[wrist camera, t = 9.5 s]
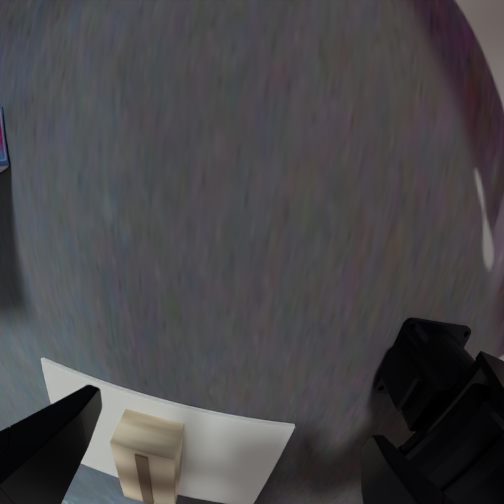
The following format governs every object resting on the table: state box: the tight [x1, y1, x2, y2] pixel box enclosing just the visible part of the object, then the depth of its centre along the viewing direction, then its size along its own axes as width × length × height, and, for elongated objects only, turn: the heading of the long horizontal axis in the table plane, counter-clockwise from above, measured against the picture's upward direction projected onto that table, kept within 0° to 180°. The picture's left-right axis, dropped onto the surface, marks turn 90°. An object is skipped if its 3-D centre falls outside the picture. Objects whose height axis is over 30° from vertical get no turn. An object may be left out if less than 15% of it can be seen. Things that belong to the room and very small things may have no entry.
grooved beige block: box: [110, 409, 184, 504], centre depth 22 cm, size 10×5×4 cm, turn 170°
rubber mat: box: [41, 357, 295, 504], centre depth 24 cm, size 22×16×1 cm
